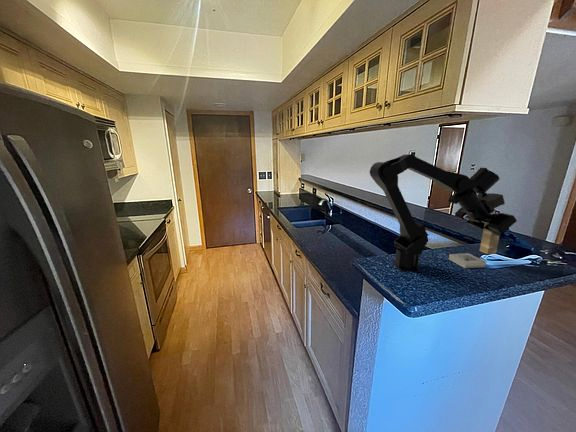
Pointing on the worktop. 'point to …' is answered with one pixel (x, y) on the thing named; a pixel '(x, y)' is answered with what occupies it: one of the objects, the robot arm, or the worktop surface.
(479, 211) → the robot arm
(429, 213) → the worktop surface
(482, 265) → the socket plate
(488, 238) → the pin
